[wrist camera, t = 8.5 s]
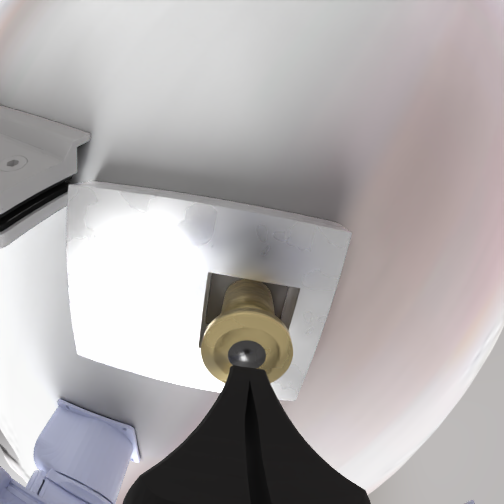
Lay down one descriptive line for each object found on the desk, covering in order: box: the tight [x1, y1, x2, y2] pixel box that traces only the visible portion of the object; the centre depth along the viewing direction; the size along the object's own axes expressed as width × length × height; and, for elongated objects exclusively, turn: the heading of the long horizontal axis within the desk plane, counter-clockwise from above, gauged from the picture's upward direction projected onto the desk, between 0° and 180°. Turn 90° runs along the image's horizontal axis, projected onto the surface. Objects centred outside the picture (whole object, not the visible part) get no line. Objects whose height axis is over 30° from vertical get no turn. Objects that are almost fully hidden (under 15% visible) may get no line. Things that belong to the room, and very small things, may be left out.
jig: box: [66, 181, 352, 401], centre depth 17 cm, size 16×12×3 cm
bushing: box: [201, 279, 293, 383], centre depth 16 cm, size 4×4×6 cm
